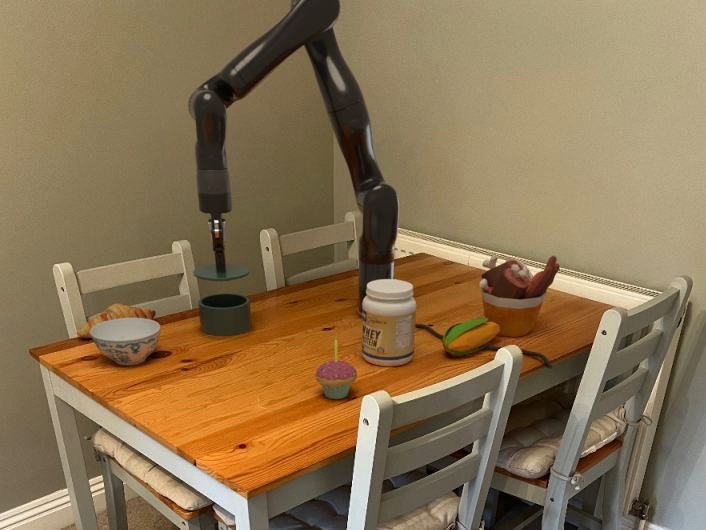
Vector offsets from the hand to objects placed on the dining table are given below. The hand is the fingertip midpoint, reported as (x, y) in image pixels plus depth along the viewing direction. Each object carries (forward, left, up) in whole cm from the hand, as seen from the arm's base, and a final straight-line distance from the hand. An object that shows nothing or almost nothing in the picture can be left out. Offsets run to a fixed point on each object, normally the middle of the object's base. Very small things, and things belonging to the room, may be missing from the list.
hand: (221, 266), depth 179 cm
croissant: (+23, +14, -16) cm, 31 cm away
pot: (0, 0, -16) cm, 16 cm away
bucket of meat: (-63, -36, -16) cm, 74 cm away
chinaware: (+6, +28, -16) cm, 33 cm away
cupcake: (-44, +21, -16) cm, 51 cm away
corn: (-59, -18, -16) cm, 64 cm away
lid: (0, 0, -2) cm, 2 cm away
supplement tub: (-44, -3, -16) cm, 47 cm away
